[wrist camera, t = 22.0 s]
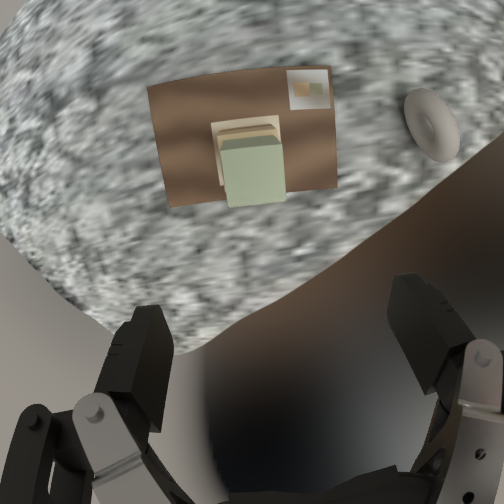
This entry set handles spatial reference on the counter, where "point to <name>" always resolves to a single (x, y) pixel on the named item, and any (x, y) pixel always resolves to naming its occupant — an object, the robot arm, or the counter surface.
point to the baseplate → (239, 115)
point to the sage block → (253, 170)
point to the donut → (432, 124)
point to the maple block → (244, 135)
